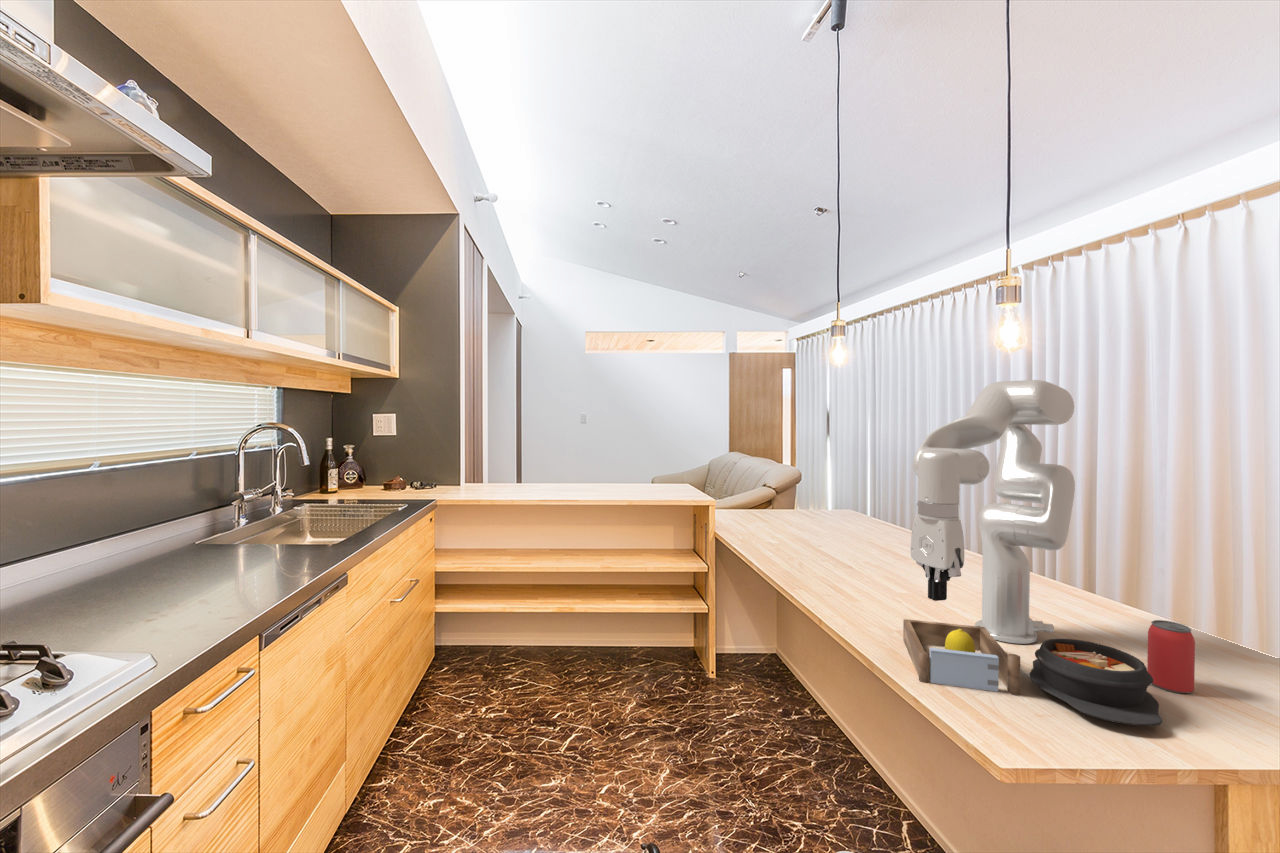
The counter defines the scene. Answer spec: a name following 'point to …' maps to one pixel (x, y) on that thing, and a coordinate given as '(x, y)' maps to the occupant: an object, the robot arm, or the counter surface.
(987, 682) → the gate
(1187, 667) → the beer can
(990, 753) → the counter surface
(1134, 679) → the casserole
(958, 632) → the lemon
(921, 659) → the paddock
